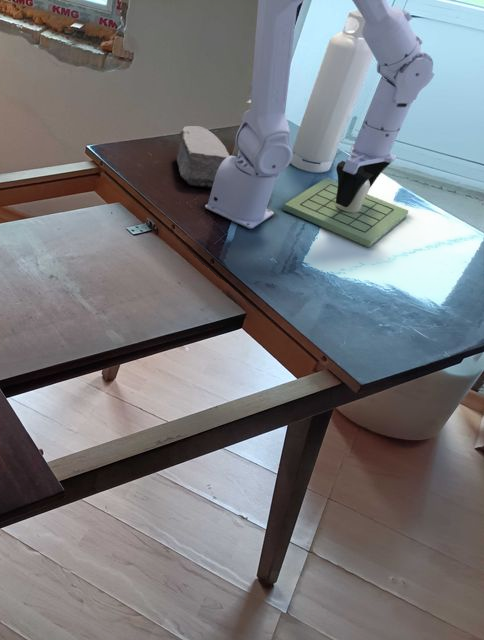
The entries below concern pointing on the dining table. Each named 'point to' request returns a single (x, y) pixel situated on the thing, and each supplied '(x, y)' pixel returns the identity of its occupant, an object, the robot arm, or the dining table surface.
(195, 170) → the decorative stone
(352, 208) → the cream rounded cylinder
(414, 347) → the dining table surface
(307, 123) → the bottle
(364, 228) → the game board
